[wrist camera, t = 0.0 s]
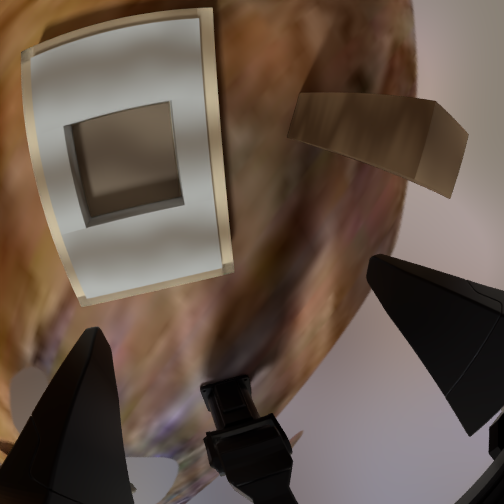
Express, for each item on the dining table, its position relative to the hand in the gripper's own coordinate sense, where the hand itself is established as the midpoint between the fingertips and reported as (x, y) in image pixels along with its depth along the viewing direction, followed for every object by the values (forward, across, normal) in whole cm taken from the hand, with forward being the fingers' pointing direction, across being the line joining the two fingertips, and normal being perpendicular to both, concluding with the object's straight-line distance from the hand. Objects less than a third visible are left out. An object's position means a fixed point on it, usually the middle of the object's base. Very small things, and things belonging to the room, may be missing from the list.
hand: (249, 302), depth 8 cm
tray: (+15, +4, -3) cm, 15 cm away
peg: (+15, -11, -4) cm, 19 cm away
